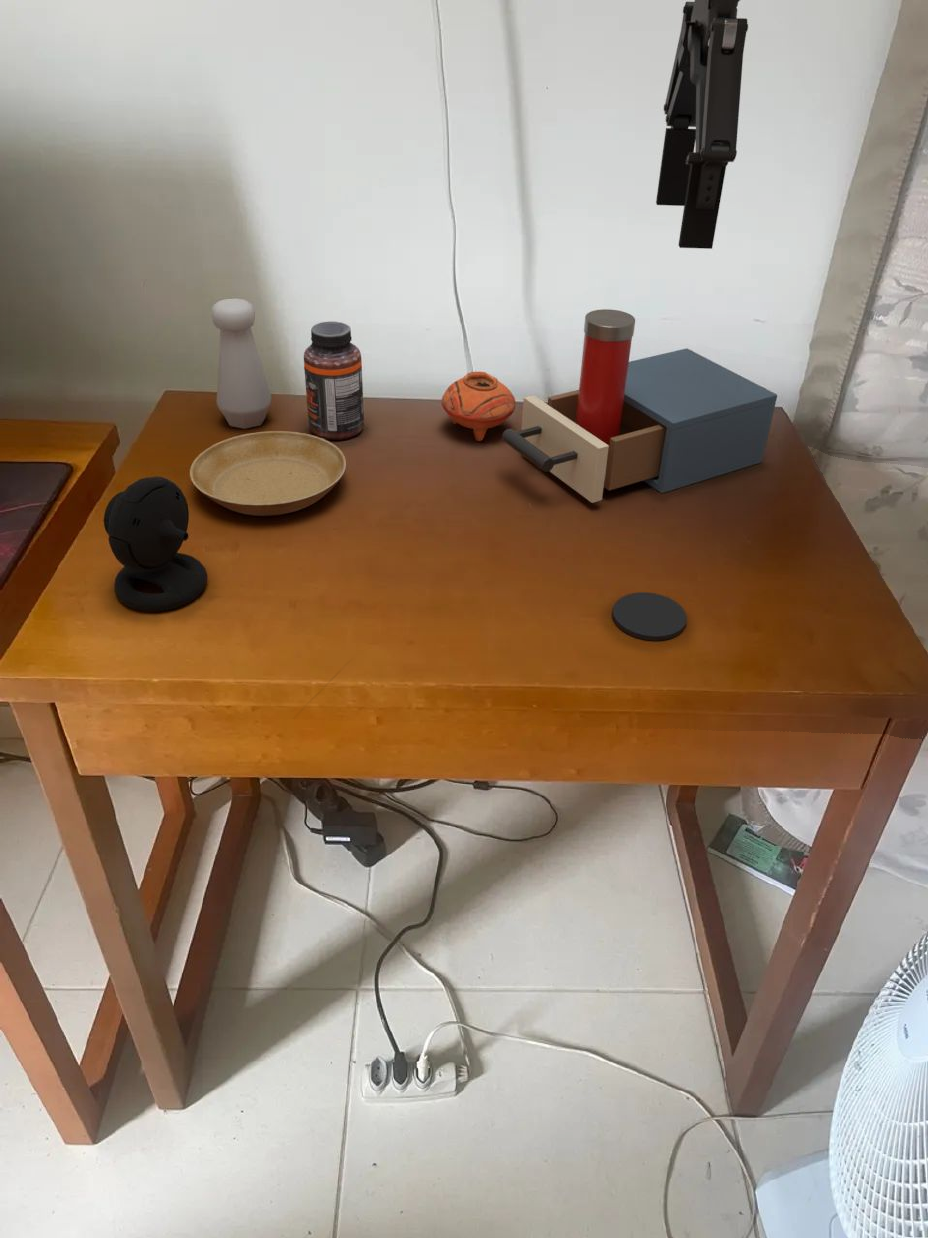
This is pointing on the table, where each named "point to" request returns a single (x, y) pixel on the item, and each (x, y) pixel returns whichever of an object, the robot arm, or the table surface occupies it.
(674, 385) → the cabinet
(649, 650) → the table surface
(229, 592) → the table surface
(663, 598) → the coaster
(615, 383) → the disc
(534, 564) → the table surface
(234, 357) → the salt shaker
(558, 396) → the drawer
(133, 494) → the webcam
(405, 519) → the table surface
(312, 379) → the supplement bottle
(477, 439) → the pot
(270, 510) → the plant saucer
